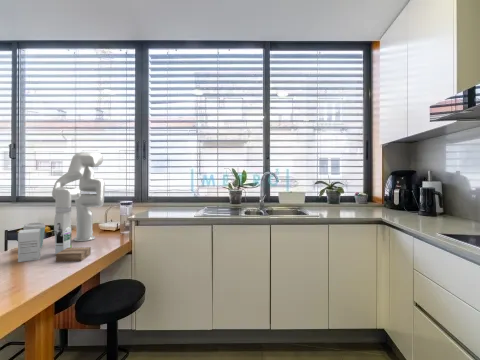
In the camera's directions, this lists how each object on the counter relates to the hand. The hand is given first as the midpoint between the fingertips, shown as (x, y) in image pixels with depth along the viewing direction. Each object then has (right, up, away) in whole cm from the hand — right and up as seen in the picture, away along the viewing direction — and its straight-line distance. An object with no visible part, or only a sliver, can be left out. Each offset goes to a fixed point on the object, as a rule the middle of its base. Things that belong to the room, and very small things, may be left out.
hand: (63, 241), depth 152 cm
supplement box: (-11, -7, -11) cm, 17 cm away
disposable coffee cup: (-22, -7, +8) cm, 25 cm away
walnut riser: (+11, -7, -8) cm, 16 cm away
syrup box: (0, -7, 0) cm, 7 cm away
